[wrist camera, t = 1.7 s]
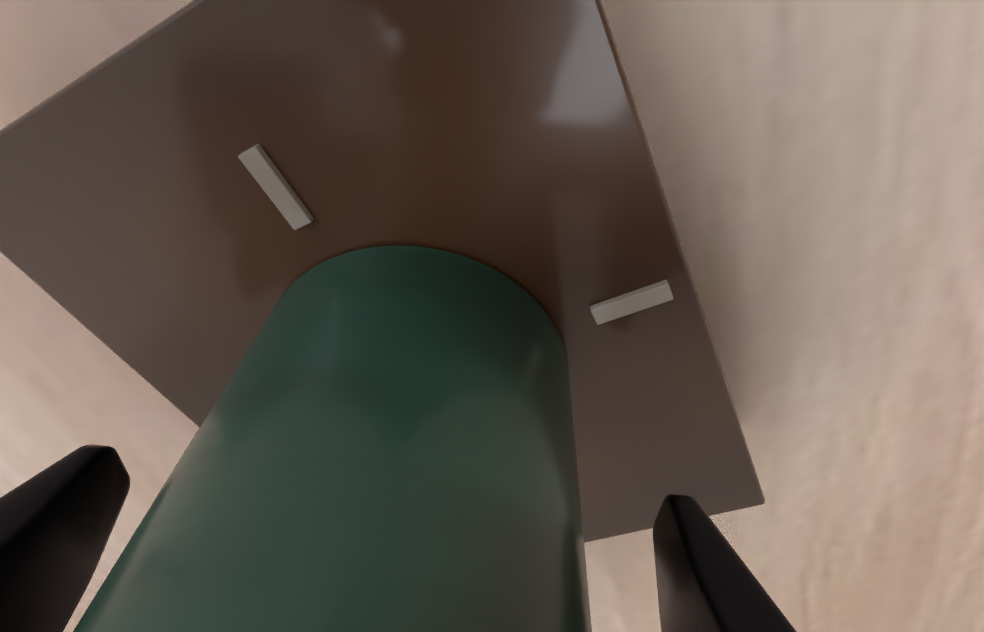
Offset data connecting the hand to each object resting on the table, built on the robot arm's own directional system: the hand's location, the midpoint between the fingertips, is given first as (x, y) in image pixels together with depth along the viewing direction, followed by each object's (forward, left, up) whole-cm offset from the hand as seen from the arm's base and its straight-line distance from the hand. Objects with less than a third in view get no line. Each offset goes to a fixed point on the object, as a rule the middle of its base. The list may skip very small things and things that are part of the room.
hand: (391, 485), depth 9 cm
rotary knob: (0, 0, -3) cm, 3 cm away
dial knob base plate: (0, 0, -5) cm, 5 cm away
